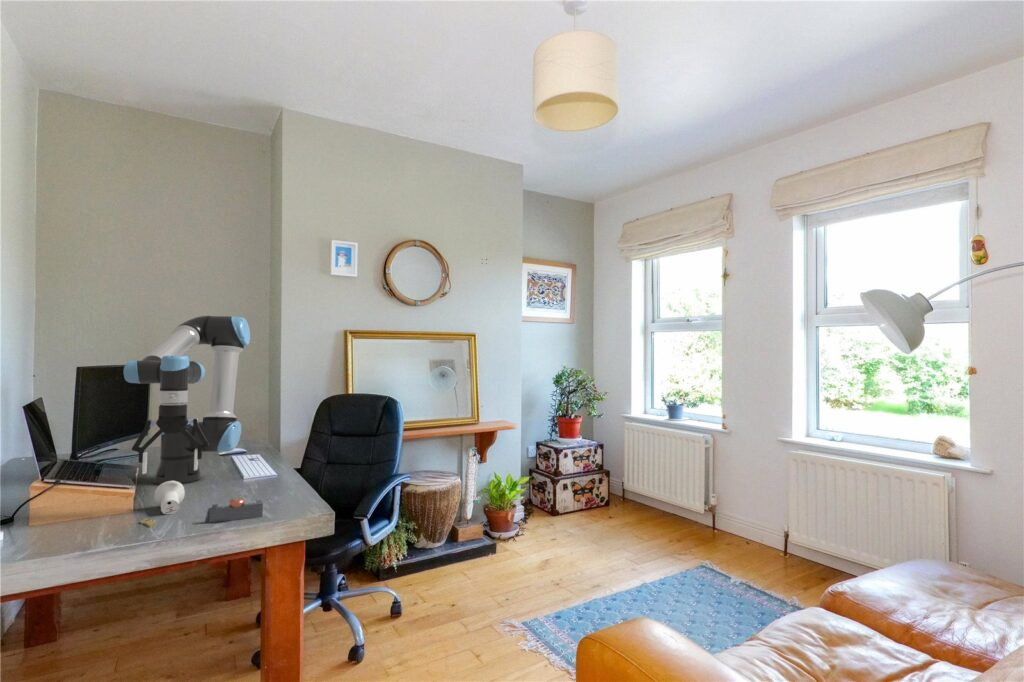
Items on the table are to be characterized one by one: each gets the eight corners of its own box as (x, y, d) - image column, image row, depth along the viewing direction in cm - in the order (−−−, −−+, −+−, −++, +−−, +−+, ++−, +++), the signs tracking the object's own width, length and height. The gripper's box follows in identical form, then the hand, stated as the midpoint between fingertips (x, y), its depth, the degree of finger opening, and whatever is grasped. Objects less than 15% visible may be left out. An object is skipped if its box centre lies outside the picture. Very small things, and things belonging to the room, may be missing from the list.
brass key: (139, 522, 150) (139, 520, 150) (150, 520, 152) (150, 517, 152) (147, 528, 146) (147, 525, 146) (158, 525, 148) (159, 523, 148)
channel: (212, 508, 164) (213, 490, 164) (261, 503, 170) (261, 486, 170) (208, 524, 150) (209, 504, 150) (262, 518, 156) (263, 499, 156)
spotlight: (186, 498, 170) (181, 476, 168) (188, 515, 160) (183, 491, 158) (157, 506, 165) (152, 484, 163) (157, 524, 156) (151, 500, 154)
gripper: (122, 405, 155) (119, 477, 154) (217, 404, 166) (215, 470, 165) (127, 403, 161) (124, 472, 161) (219, 402, 173) (216, 465, 172)
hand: (170, 471), depth 163 cm, fingers open, 13 cm apart
